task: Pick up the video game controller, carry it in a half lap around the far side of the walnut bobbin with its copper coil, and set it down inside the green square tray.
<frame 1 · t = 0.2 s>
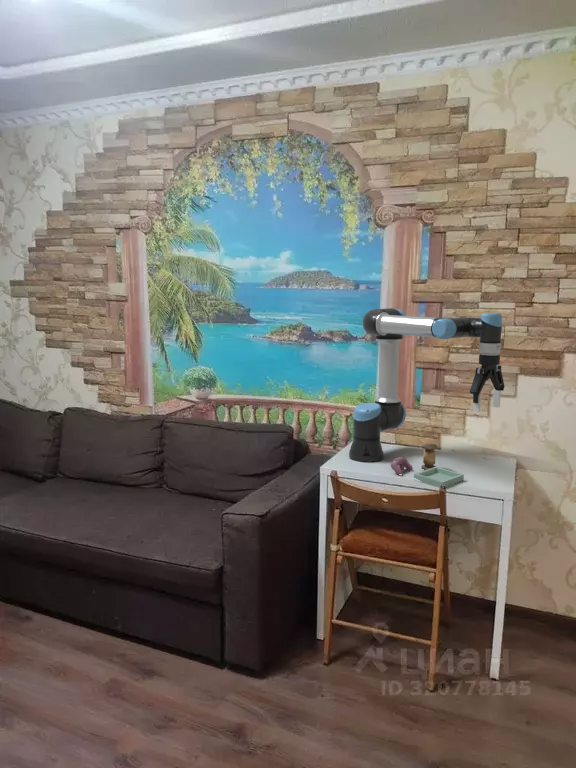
hand: (486, 409, 221), 28 cm above the table, tool pointing down, fingers open, 13 cm apart
bobbin: (428, 468, 237), on the table
green square tray: (438, 480, 223), on the table
video game controller: (401, 472, 233), on the table
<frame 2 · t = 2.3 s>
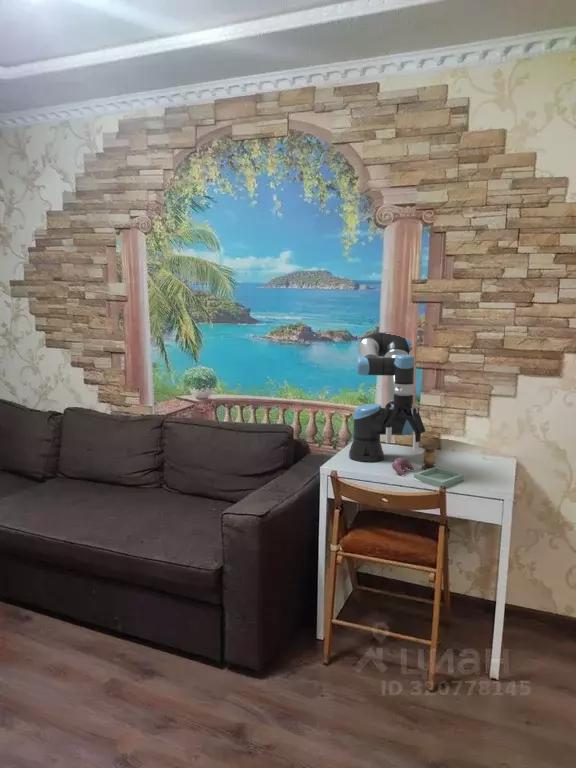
hand: (401, 446, 231), 11 cm above the table, tool pointing down, fingers open, 13 cm apart
nothing on the table moved.
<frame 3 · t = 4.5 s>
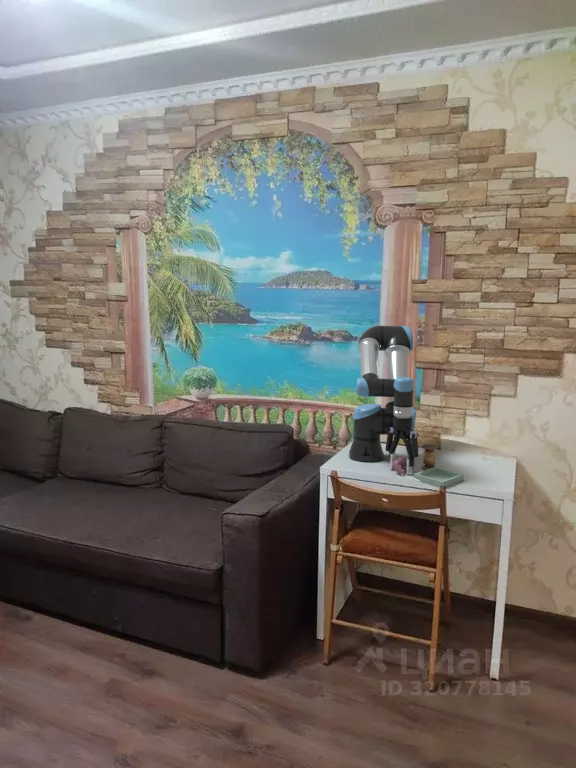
hand: (401, 471, 233), 0 cm above the table, tool pointing down, fingers open, 7 cm apart
video game controller: (402, 472, 233), on the table, touching gripper
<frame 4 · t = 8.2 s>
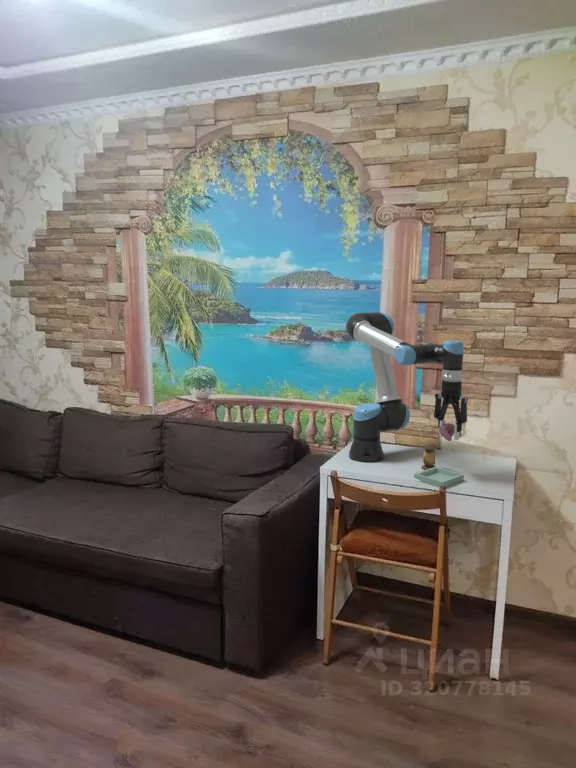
hand: (449, 437, 228), 15 cm above the table, tool pointing down, fingers closed on video game controller, 6 cm apart
video game controller: (449, 438, 228), point 14 cm above the table, touching gripper
when the fingers open (2 cm above the table, at t = 11.6 s): video game controller stays where it is, resting on green square tray.
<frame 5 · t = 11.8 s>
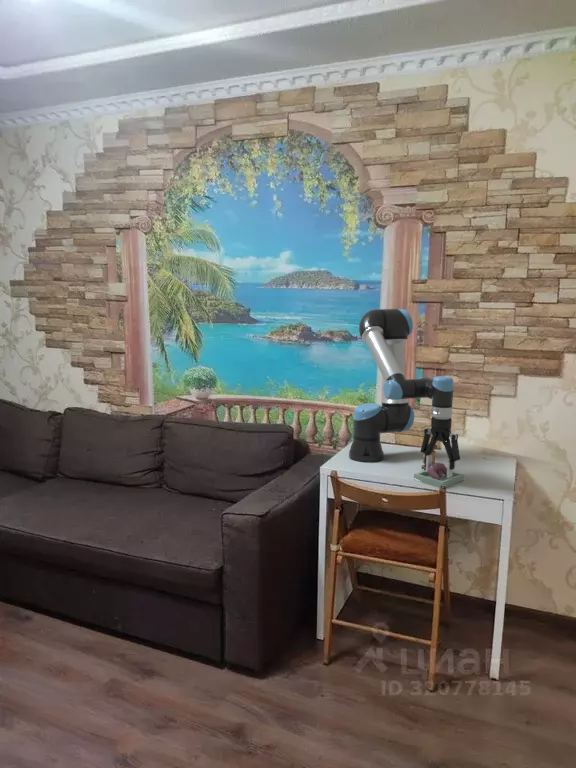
hand: (438, 474, 223), 2 cm above the table, tool pointing down, fingers open, 9 cm apart
video game controller: (438, 478, 224), resting on green square tray
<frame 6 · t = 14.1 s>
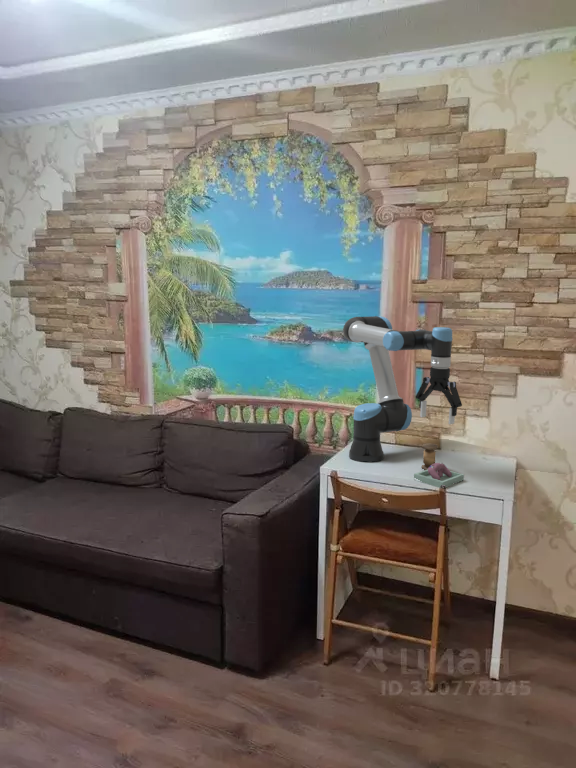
hand: (436, 420, 228), 22 cm above the table, tool pointing down, fingers open, 13 cm apart
nothing on the table moved.
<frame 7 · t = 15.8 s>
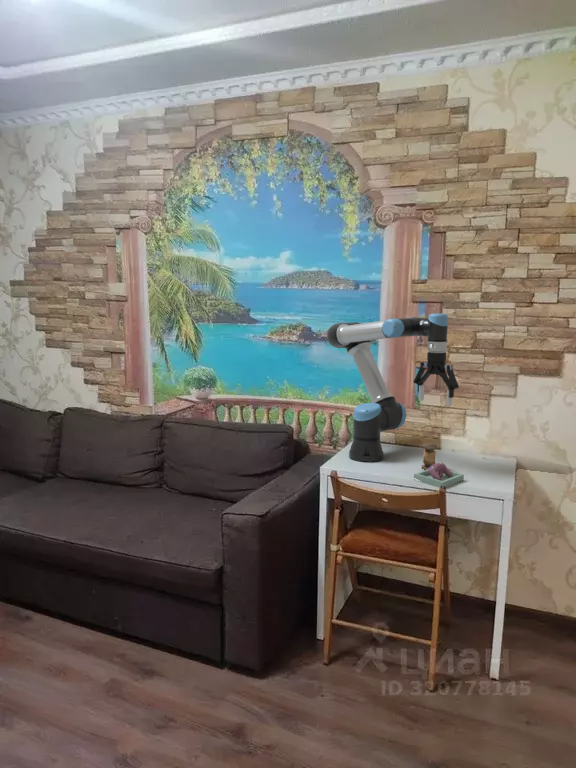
hand: (434, 403, 238), 27 cm above the table, tool pointing down, fingers open, 13 cm apart
nothing on the table moved.
at the end: video game controller 0.5 cm off-centre on the green square tray, point 0.4 cm above the green square tray's base; the gripper is holding nothing; video game controller tilted 0° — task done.
